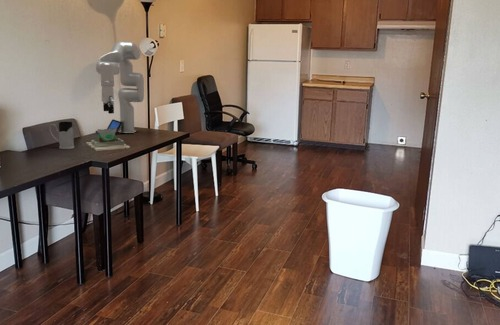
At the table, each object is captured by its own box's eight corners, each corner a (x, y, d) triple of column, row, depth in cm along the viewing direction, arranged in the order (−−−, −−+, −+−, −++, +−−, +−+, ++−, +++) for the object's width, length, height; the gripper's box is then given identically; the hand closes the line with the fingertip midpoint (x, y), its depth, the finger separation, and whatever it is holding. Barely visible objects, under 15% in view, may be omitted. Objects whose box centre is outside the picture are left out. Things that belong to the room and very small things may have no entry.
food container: (103, 147, 275) (102, 130, 272) (97, 145, 278) (96, 129, 276) (120, 144, 284) (120, 128, 282) (115, 142, 288) (114, 127, 285)
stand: (86, 144, 286) (86, 138, 285) (118, 141, 297) (117, 136, 296) (96, 151, 268) (96, 145, 267) (129, 148, 279) (129, 142, 278)
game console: (94, 133, 324) (94, 120, 322) (113, 131, 333) (112, 119, 331) (104, 136, 313) (103, 123, 311) (122, 134, 322) (122, 122, 319)
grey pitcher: (70, 149, 270) (69, 124, 266) (47, 148, 271) (45, 122, 267) (77, 146, 278) (75, 121, 275) (54, 145, 279) (52, 120, 275)
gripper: (97, 82, 280) (98, 110, 285) (105, 85, 266) (106, 114, 271) (109, 82, 284) (110, 110, 289) (118, 85, 270) (119, 114, 275)
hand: (108, 112), depth 280 cm, fingers open, 9 cm apart
